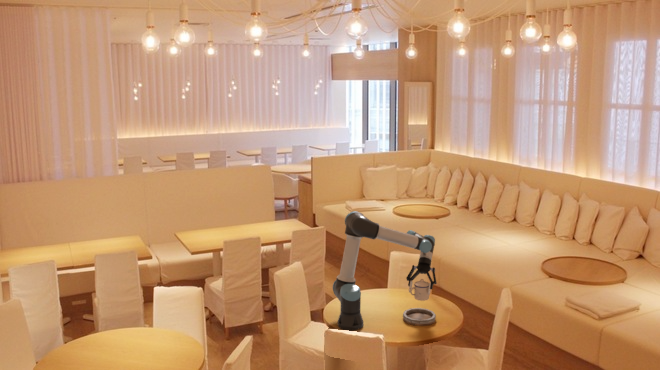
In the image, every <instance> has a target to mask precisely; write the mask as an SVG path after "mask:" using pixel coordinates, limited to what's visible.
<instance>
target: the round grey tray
mask: <svg viewBox="0 0 660 370" xmlns="http://www.w3.org/2000/svg"><path fill="white" fill-rule="evenodd" d="M436 318H437V315H436V313H435V312H434V311H433V310H431V309H428V308H423V307H413V308H408V309H405V310H404V311H403V313H402V319H403V321H404V323H407V324H408V325H411V326H418V327H426V326H430V325H433V324H434V323H435V322H436Z"/></svg>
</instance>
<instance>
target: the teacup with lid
mask: <svg viewBox="0 0 660 370" xmlns="http://www.w3.org/2000/svg"><path fill="white" fill-rule="evenodd" d="M429 283H430V282H428V281H426V280H424V279H423V278H421V279H420V280H417V281H415V282H414V284H413V285H414V286H412V288H411V289H410V292H409V293H410V295H411V296H413V297H414V299H415V300H417V301H421V302H422V301H423V302H424V301H428V300H429V299H430V295H428V288H429ZM413 290H414V293H412V291H413Z"/></svg>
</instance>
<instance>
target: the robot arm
mask: <svg viewBox="0 0 660 370" xmlns="http://www.w3.org/2000/svg"><path fill="white" fill-rule="evenodd" d="M344 224H345V225H344V226H345V231H344V234H345V235H346V239H345V243H344V244H345V245H344V249H343V253H342V254H343V256H342V259H341V265H340V271H339V274H338V275H337V276H336V279H335V280H334V282H333V284H332V291H333V295H334V296H335V297H336V298H337V299H338V300H339V302H340V312H339V316H338V319H337V327H338V328H340V329H342V330H345V331H357V330H360V329H362V328H363V327H364V319H363V316H362V313H361V303H362V302H361V301H362V300H361V299H362V297H361V296H362V295H361V294H362V292H361V288H360V287H359V286H358V285H356V281H357V279H356V278H355V273H356V268H357V267H356V266H357V262H358V256H359V252H360V251H359V250H360V247H361V245H360V244H361V241H362V239H363V238H366V239H371V240H376V239H377V240H380V241H385V242H387V243H391V244H392V243H393V244H395V245H399V246H403V247H407V248H411V249H414V250H416V251H420V253H419V258H418V263H417V265H414V264H413V265H412V266H411V270H410V271H409V273H408V274H407V276H406V277H405V278H406V281H408V284H407V286H408V287H409V288H408V293H410V289H411V288H413V283H414V282H413V281H414V280H415V279H416V278H417V276H419V275H420V274H421V275H423V274H424V275H427V278H428V280H429V282H428V283H429V288H428V295H429V296H430V294H431V290H433V288H434V285H437V284H438V283H437V278H436V268H435V267H431V266H432V260H433V254H434V249H435V245H436V244H435V243H436V238H435V237H434V236H433V235H430V234H424V235H422V234H420V233H418V232H417V231H415V230H411V229H410V230H408V231H407V232H403V231H399V230H397V229H396V230H395V229H393V228H389V227H387V226H386V227H385V226H381V225H380V224H379V223H377V222H375V221H373V220H371V219H369V218H368V217H366V216H365V215H364V214H363V213H362V212H359V211H354V210H353V211H350V212H348V214H346V216H345V218H344ZM430 271H431V272H432V277H433V278H432V277H431V275H430Z"/></svg>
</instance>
